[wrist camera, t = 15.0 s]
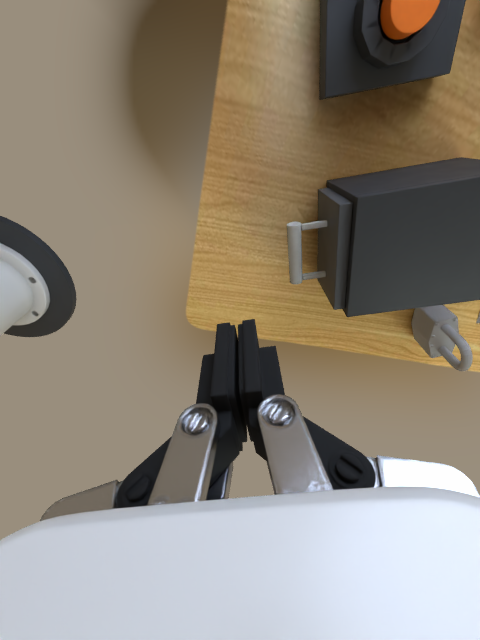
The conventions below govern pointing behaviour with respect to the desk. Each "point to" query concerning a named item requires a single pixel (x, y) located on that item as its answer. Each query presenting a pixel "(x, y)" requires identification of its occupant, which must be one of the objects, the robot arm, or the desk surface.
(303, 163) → the desk surface
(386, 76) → the control block
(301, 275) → the drawer
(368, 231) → the dark grey cabinet
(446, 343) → the padlock
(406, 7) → the button
